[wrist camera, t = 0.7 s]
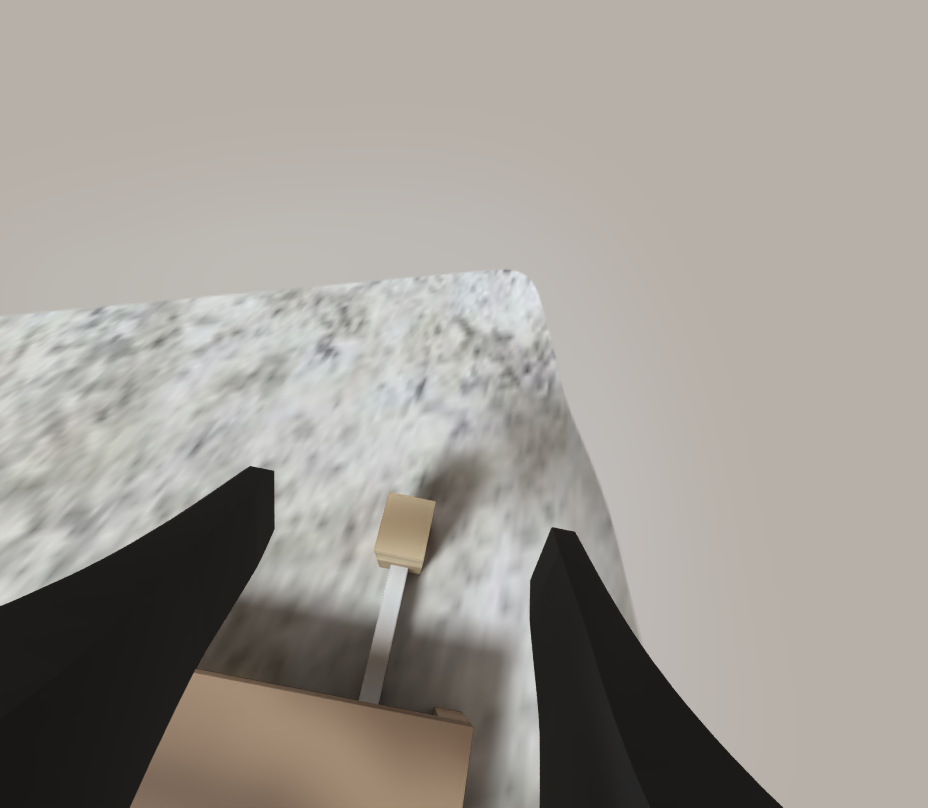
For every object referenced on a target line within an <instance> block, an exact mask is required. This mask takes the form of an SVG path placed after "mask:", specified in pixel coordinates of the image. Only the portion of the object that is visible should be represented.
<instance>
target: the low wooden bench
mask: <svg viewBox="0 0 928 808" xmlns="http://www.w3.org/2000/svg"><path fill="white" fill-rule="evenodd" d="M472 735H473V726H472V725H471V724H470V722H469V721H468V720H467V719H466V717H465V716H464V715H463V714H462V712H458V711H453V710H448V709H443V708H437V707H434V713H433V715H430V714H424V713H419V712H414V711H409V710H404V709H399V708H394V707H389V706H384V705H379V704H373V703H368V702H363V701H358V700H353V699H348V698H343V697H338V696H333V695H327V694H322V693H317V692H312V691H307V690H302V689H297V688H292V687H287V686H282V685H276V684H271V683H266V682H261V681H256V680H251V679H246V678H241V677H236V676H231V675H225V674H220V673H215V672H210V671H205V670H200V669H195V671H194V673H193V675H192V677H191V679H190V681H189V683H188V685H187V687H186V689H185V691H184V693H183V695H182V697H181V699H180V701H179V704H178V706H177V708H176V710H175V712H174V714H173V716H172V718H171V720H170V722H169V724H168V726H167V728H166V730H165V733H164V735H163V737H162V739H161V741H160V743H159V745H158V747H157V749H156V752H155V754H154V756H153V758H152V760H151V762H150V764H149V767H148V769H147V771H146V773H145V776H144V778H143V780H142V782H141V784H140V787H139V789H138V791H137V793H136V795H135V798H134V800H133V802H132V804H131V806H130V808H462V807H463V800H464V792H465V785H466V778H467V771H468V764H469V756H470V749H471V742H472Z"/></svg>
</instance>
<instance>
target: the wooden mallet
mask: <svg viewBox="0 0 928 808" xmlns="http://www.w3.org/2000/svg"><path fill="white" fill-rule="evenodd" d="M435 503H436V501H431V500H426V499H421V498H416V497H412V496H407V495H402V494H397V493H392V492H389V494H388V497H387V501H386V505H385V509H384V513H383V517H382V521H381V525H380V528H379V532H378V536H377V540H376V544H375V548H374V552H375V555H376V558H377V561H378V564H379V567H383V568H388V569H390V570H389V574H388V579H387V583H386V587H385V591H384V595H383V600H382V604H381V608H380V612H379V616H378V621H377V625H376V629H375V633H374V637H373V641H372V646H371V650H370V654H369V658H368V662H367V667H366V671H365V675H364V679H363V683H362V688H361V692H360V696H359V700H358V701H363V702H368V703H373V704H379V701H380V696H381V692H382V687H383V683H384V678H385V674H386V669H387V665H388V660H389V655H390V651H391V646H392V642H393V637H394V633H395V628H396V624H397V619H398V615H399V610H400V606H401V601H402V597H403V592H404V587H405V583H406V578H407V574H408V573H413V574H418V575H420V573H421V569H422V565H423V561H424V556H425V551H426V546H427V541H428V537H429V532H430V527H431V522H432V517H433V513H434V508H435Z"/></svg>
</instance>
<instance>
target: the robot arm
mask: <svg viewBox="0 0 928 808" xmlns="http://www.w3.org/2000/svg"><path fill="white" fill-rule="evenodd" d="M274 529H275V527H274V471H272V470H267V469H262V468H257V467H252V466H250V467H248V468H246V469H245V470H243V471H242V472H240V473H239V474H237V475H236V476H235V477H233V478H232V479H230V480H229V481H227V482H226V483H224V484H223V485H222V486H220V487H219V488H217V489H216V490H214V491H213V492H211V493H210V494H208V495H207V496H206V497H204V498H203V499H201V500H200V501H198V502H197V503H195V504H194V505H192V506H191V507H189V508H188V509H186V510H184V511H183V512H181V513H180V514H178V515H177V516H175V517H174V518H172V519H171V520H169V521H167V522H166V523H164V524H163V525H161V526H159V527H158V528H156V529H154V530H153V531H151V532H149V533H148V534H146V535H144V536H143V537H141V538H139V539H138V540H136V541H134V542H133V543H131V544H129V545H127V546H126V547H124V548H122V549H120V550H118V551H117V552H115V553H113V554H111V555H109V556H107V557H105V558H104V559H102V560H100V561H98V562H96V563H94V564H92V565H90V566H88V567H86V568H84V569H82V570H80V571H78V572H76V573H74V574H72V575H70V576H68V577H65V578H63V579H61V580H59V581H57V582H54V583H52V584H50V585H48V586H45V587H43V588H41V589H39V590H37V591H34V592H32V593H30V594H28V595H25V596H23V597H21V598H19V599H17V600H14V601H12V602H9V603H7V604H5V605H2V606H0V808H130V806H131V804H132V802H133V800H134V798H135V795H136V793H137V791H138V789H139V787H140V784H141V782H142V780H143V778H144V776H145V773H146V771H147V769H148V767H149V764H150V762H151V760H152V758H153V756H154V754H155V752H156V749H157V747H158V745H159V743H160V741H161V739H162V737H163V735H164V733H165V730H166V728H167V726H168V724H169V722H170V720H171V718H172V716H173V714H174V712H175V710H176V708H177V706H178V704H179V701H180V699H181V697H182V695H183V693H184V691H185V689H186V687H187V685H188V683H189V681H190V679H191V677H192V675H193V673H194V671H195V669H196V667H197V666H198V664H199V662H200V660H201V659H202V657H203V655H204V653H205V651H206V650H207V648H208V646H209V645H210V643H211V641H212V640H213V638H214V637H215V635H216V633H217V632H218V630H219V628H220V627H221V625H222V624H223V622H224V620H225V619H226V617H227V615H228V614H229V612H230V611H231V609H232V607H233V606H234V604H235V603H236V601H237V599H238V598H239V596H240V594H241V593H242V591H243V589H244V588H245V586H246V585H247V583H248V581H249V580H250V578H251V576H252V575H253V573H254V571H255V570H256V568H257V566H258V564H259V562H260V560H261V558H262V556H263V554H264V551H265V549H266V547H267V545H268V543H269V540H270V538H271V536H272V534H273V531H274ZM530 629H531V640H532V651H533V661H534V671H535V682H536V692H537V702H538V713H539V730H540V808H783V807H782V806H781V805H780V804H779V803H778V802H777V801H776V800H775V799H774V798H773V797H771V796H770V795H769V794H768V793H767V792H766V791H765V790H764V789H763V788H762V787H761V786H760V785H759V784H758V783H757V782H756V781H755V780H754V778H753V777H752V776H751V775H750V774H749V773H748V772H747V771H746V770H745V769H744V768H743V767H742V766H741V765H740V764H739V763H738V762H737V761H736V760H735V759H734V758H733V757H732V756H731V755H730V753H729V752H728V751H727V750H726V749H725V748H724V747H723V746H722V745H721V744H720V743H719V741H718V740H717V739H716V738H715V737H714V736H713V735H712V734H711V733H710V731H709V730H708V729H707V728H706V727H705V726H704V725H703V723H702V722H701V721H700V720H699V719H698V717H697V716H696V715H695V714H694V713H693V712H692V711H691V709H690V708H689V707H688V706H687V705H686V703H685V702H684V701H683V700H682V698H681V697H680V696H679V695H678V694H677V692H676V691H675V690H674V689H673V688H672V686H671V685H670V683H669V682H668V681H667V680H666V678H665V677H664V675H663V674H662V673H661V671H660V670H659V669H658V668H657V666H656V665H655V664H654V662H653V661H652V660H651V658H650V657H649V655H648V654H647V652H646V651H645V649H644V648H643V647H642V645H641V644H640V642H639V641H638V639H637V638H636V636H635V635H634V633H633V632H632V630H631V629H630V627H629V625H628V624H627V622H626V621H625V619H624V618H623V616H622V614H621V613H620V611H619V609H618V608H617V606H616V604H615V603H614V601H613V599H612V598H611V596H610V594H609V593H608V591H607V589H606V587H605V586H604V584H603V582H602V580H601V579H600V577H599V575H598V573H597V571H596V570H595V568H594V566H593V564H592V562H591V560H590V559H589V557H588V555H587V553H586V551H585V549H584V547H583V545H582V544H581V542H580V540H579V538H578V536H577V535H576V533H575V532H573V531H568V530H563V529H558V528H553V527H552V528H551V530H550V533H549V535H548V538H547V540H546V543H545V545H544V548H543V550H542V553H541V555H540V558H539V560H538V562H537V565H536V567H535V570H534V572H533V575H532V577H531V580H530Z"/></svg>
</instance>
